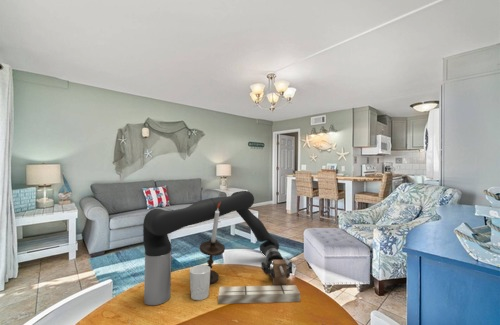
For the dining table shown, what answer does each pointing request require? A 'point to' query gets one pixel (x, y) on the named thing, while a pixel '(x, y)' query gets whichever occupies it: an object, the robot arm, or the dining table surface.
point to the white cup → (199, 282)
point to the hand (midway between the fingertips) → (280, 275)
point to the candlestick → (213, 248)
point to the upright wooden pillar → (280, 272)
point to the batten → (258, 294)
